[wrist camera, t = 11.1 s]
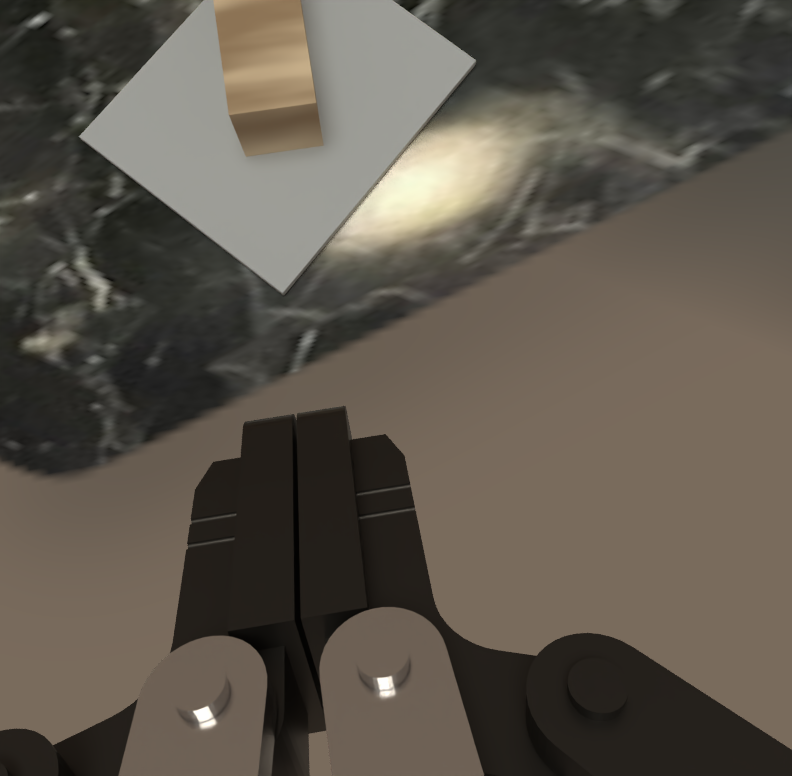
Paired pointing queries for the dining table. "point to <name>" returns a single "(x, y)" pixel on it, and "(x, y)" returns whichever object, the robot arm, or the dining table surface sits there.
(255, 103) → the birch block
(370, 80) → the rubber mat
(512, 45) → the dining table surface
